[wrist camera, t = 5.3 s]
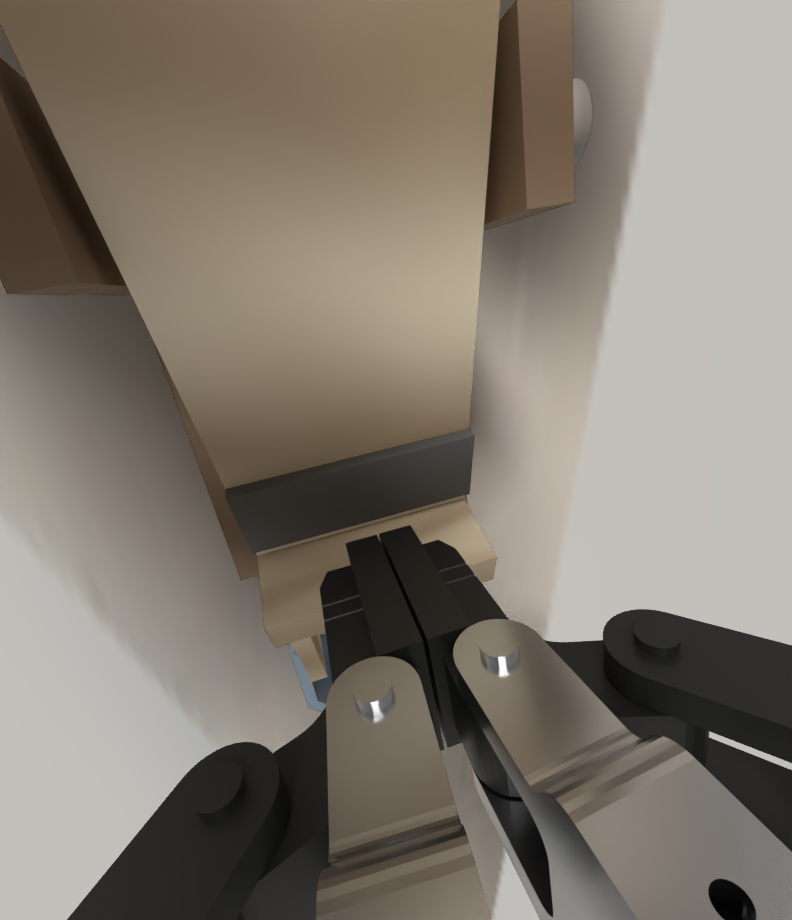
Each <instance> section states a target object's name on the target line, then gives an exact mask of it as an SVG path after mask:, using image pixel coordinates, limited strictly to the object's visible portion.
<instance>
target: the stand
mask: <svg viewBox="0 0 792 920" xmlns="http://www.w3.org/2000/svg"><path fill="white" fill-rule="evenodd" d="M591 125H592V100H591V95H590V92H589V89H588V87H587V85H586V84H585V82H584V81H583V80H581V79H579V78H573V15H572V0H516V2H515V3H514V4H513V5H512V6H511V8H510V9H509V10H508V11H507V13H506V14H505V15H504V16H503V17H502V19H501V20H500V21H499V27H498V40H497V54H496V67H495V81H494V95H493V108H492V122H491V135H490V149H489V163H488V176H487V190H486V203H485V217H484V231H485V230H488V229H491V228H494V227H497V226H500V225H503V224H506V223H510V222H513V221H516V220H519V219H522V218H525V217H528V216H532V215H535V214H538V213H541V212H544V211H547V210H550V209H554V208H557V207H560V206H563V205H566V204H569V203H572V202H575V184H574V165H575V164H576V163H577V162H578V160H579V159H580V157H581V156H582V154H583V152H584V150H585V148H586V145H587V142H588V139H589V135H590V131H591ZM0 279H1V281H2V284H3V286H4V288H5V290H6V292H7V294H34V295H114V296H132V295H131V293H130V291H129V289H128V287H127V285H126V283H125V281H124V279H123V277H122V275H121V273H120V271H119V268H118V266H117V264H116V262H115V260H114V258H113V256H112V254H111V252H110V250H109V248H108V246H107V244H106V242H105V240H104V237H103V235H102V233H101V231H100V229H99V227H98V225H97V223H96V221H95V219H94V217H93V215H92V213H91V211H90V209H89V206H88V204H87V202H86V200H85V198H84V196H83V194H82V192H81V190H80V188H79V186H78V184H77V182H76V180H75V178H74V175H73V173H72V171H71V169H70V167H69V165H68V163H67V161H66V159H65V157H64V155H63V153H62V151H61V149H60V146H59V144H58V142H57V140H56V138H55V136H54V134H53V132H52V130H51V128H50V126H49V124H48V122H47V120H46V118H45V115H44V113H43V111H42V109H41V107H40V105H39V103H38V101H37V99H36V97H35V95H34V93H33V91H32V89H31V87H30V84H29V83H28V82H27V81H26V80H25V79H24V78H23V77H22V76H20V75H19V74H18V73H17V72H16V71H15V70H14V69H12V68H11V67H10V66H9V65H8V64H7V63H6V62H4V61H3V60H2V59H1V58H0ZM153 342H154V341H153ZM154 345H155V343H154ZM155 347H156V345H155ZM156 350H157V353H158V355H159V358H160V361H161V364H162V366H163V369H164V372H165V375H166V377H167V380H168V383H169V385H170V388H171V391H172V394H173V396H174V399H175V402H176V405H177V407H178V410H179V413H180V416H181V418H182V421H183V424H184V426H185V429H186V432H187V435H188V437H189V440H190V443H191V446H192V448H193V451H194V454H195V456H196V459H197V462H198V465H199V467H200V470H201V473H202V476H203V478H204V481H205V484H206V486H207V489H208V492H209V495H210V497H211V500H212V503H213V506H214V508H215V511H216V514H217V517H218V519H219V522H220V525H221V527H222V530H223V533H224V536H225V538H226V541H227V544H228V547H229V549H230V552H231V555H232V557H233V560H234V563H235V566H236V568H237V571H238V574H239V577H240V579H241V580H244V579H247V578H251V577H254V576H257V575H259V567H258V556H257V554H256V553H254V554H252V552H251V550H250V548H249V546H248V544H247V541H246V539H245V537H244V535H243V533H242V531H241V529H240V527H239V525H238V523H237V521H236V519H235V517H234V515H233V513H232V511H231V509H230V507H229V505H228V503H227V501H226V497H225V488H224V486H223V483H222V481H221V479H220V477H219V475H218V473H217V471H216V469H215V467H214V465H213V463H212V461H211V459H210V457H209V455H208V452H207V450H206V448H205V446H204V444H203V442H202V440H201V438H200V436H199V434H198V432H197V430H196V428H195V426H194V424H193V421H192V419H191V417H190V415H189V413H188V411H187V409H186V407H185V405H184V403H183V401H182V399H181V397H180V395H179V393H178V390H177V388H176V386H175V384H174V382H173V380H172V378H171V376H170V374H169V372H168V370H167V368H166V366H165V364H164V362H163V359H162V357H161V355H160V353H159V351H158V349H157V347H156ZM464 499H465V501H466V503H467V497H466V495H464Z"/></svg>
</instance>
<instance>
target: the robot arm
mask: <svg viewBox="0 0 792 920" xmlns="http://www.w3.org/2000/svg"><path fill="white" fill-rule="evenodd" d="M379 540H380V541H379ZM345 544H346V549H347V553H348V557H349V561H350V565H349V566H346V567H342V568H339V569H335V570H332V571H328V572H327V573H326V575H325V578H324V580H323V582H322V584H321V586H320V596H321V603H322V610H323V617H324V622H325V623H324V625H325V632H326V639H327V646H328V654H329V661H330V668H331V676H332V687H331V689H330V691H329V693H328V697H327V702H326V707H325V709H324V710H323V712H322V713H321V715H320V716H319V717H318V718H317V720H316V721H315V722H314V723H313V724H312V725H311V726H310V727H309V728H308V729H307V730H306V731H304V732H303V733H302V734H300V735H299V736H298V737H296V738H295V739H293V740H292V741H290V742H289V743H287V744H286V745H284V746H283V747H281V748H280V749H278V750H277V751H276V752H274V753H273V754H272V752H271V751H270V750H268V749H267V748H266V747H264V746H262V745H260V744H257V743H253V742H242V743H235V744H232V745H228V746H225V747H223V748H221V749H219V750H216V751H215V752H213V753H211V754H210V755H208V756H207V757H205V758H204V759H203V760H201V761H200V762H199V763H197V764H196V765H195V766H194V767H193V768H192V769H191V770H190V771H189V772H188V773H187V774H186V775H185V776H184V777H183V779H182V780H181V781H180V782H179V783H178V785H177V786H176V787H175V788H174V790H173V791H172V792H171V793H170V794H169V796H168V797H167V798H166V800H165V801H164V802H163V803H162V804H161V806H160V807H159V808H158V809H157V811H156V812H155V813H154V814H153V816H152V817H151V818H150V819H149V820H148V821H147V823H146V824H145V825H144V826H143V828H142V829H141V830H140V831H139V832H138V834H137V835H136V836H135V837H134V838H133V840H132V841H131V842H130V843H129V845H128V846H127V847H126V848H125V850H124V851H123V852H122V853H121V854H120V856H119V857H118V858H117V859H116V861H115V862H114V863H113V864H112V865H111V867H110V868H109V869H108V870H107V872H106V873H105V874H104V875H103V876H102V878H101V879H100V880H99V881H98V883H97V884H96V885H95V887H93V889H92V890H91V891H90V892H89V894H88V895H87V896H86V897H85V898H84V900H83V901H82V902H81V903H80V905H79V906H78V907H77V908H76V910H75V911H74V912H73V913H72V914H71V916H70V917H69V918H68V919H67V920H491V917H490V914H489V910H488V907H487V903H486V900H485V896H484V893H483V889H482V886H481V882H480V879H479V875H478V872H477V868H476V865H475V861H474V858H473V854H472V851H471V848H470V844H469V841H468V838H467V835H466V832H465V829H464V826H463V824H461V822H460V819H459V816H458V813H457V809H456V806H455V802H454V799H453V795H452V791H451V788H450V784H449V781H448V777H447V773H446V770H445V766H444V763H443V759H442V755H441V752H440V751H441V750H443V749H444V746H443V741H442V736H441V731H442V733H443V736H444V739H445V741H446V744H447V746H448V747H451V746H454V745H456V744H459V743H463V745H464V748H465V750H466V752H467V755H468V757H469V759H470V762H471V766H472V772H473V778H474V783H475V787H476V790H477V792H478V795H479V797H480V799H481V801H482V803H483V805H484V807H485V809H486V811H487V813H488V815H489V817H490V819H491V821H492V823H493V825H494V827H495V829H496V831H497V833H498V835H499V837H500V839H501V841H502V843H503V845H504V847H505V849H506V851H507V853H508V855H509V857H510V859H511V862H512V864H513V866H514V868H515V870H516V872H517V874H518V876H519V878H520V880H521V882H522V884H523V886H524V888H525V890H526V892H527V894H528V896H529V898H530V900H531V902H532V904H533V906H534V908H535V910H536V912H537V914H538V916H539V918H540V920H792V770H790V769H787V768H784V767H782V766H779V765H777V764H775V763H772V762H769V761H767V760H764V759H762V758H759V757H757V756H754V755H752V754H749V753H746V752H744V751H742V750H739V749H736V748H734V747H731V746H729V745H726V744H724V743H721V742H719V741H716V740H714V739H711V738H709V731H711V732H713V733H715V734H718V735H721V736H723V737H726V738H728V739H731V740H734V741H736V742H739V743H741V744H744V745H747V746H749V747H752V748H754V749H757V750H759V751H762V752H765V753H767V754H770V755H772V756H775V757H778V758H780V759H783V760H785V761H788V762H791V763H792V646H791V645H787V644H783V643H780V642H776V641H772V640H769V639H764V638H761V637H757V636H753V635H749V634H746V633H742V632H738V631H734V630H730V629H726V628H723V627H719V626H715V625H711V624H707V623H703V622H700V621H696V620H692V619H688V618H685V617H681V616H677V615H673V614H669V613H666V612H661V611H656V610H642V609H640V610H630V611H626V612H622V613H620V614H617V615H616V616H614V617H612V618H611V619H610V620H609V621H608V622H607V624H606V625H605V627H604V631H603V640H601V641H583V642H568V643H567V642H550V641H545V640H543V639H542V637H541V636H540V635H539V634H538V633H536V632H535V631H534V630H533V629H531V628H530V627H528V626H526V625H524V624H522V623H519V622H516V621H513V620H509V619H508V618H507V617H506V615H505V614H504V613H503V611H502V610H501V609H500V607H499V606H498V605H497V603H496V602H495V601H494V599H493V598H492V597H491V595H490V594H489V593H488V591H487V590H486V588H485V587H484V586H483V584H482V583H481V582H480V580H479V579H478V578H477V576H475V575H474V572H473V571H472V570H471V568H470V567H469V566H468V564H467V565H466V562H465V560H464V559H463V558H462V556H461V555H460V554H459V552H458V551H457V550H456V548H454V547H452V546H450V545H448V544H446V543H444V542H442V541H440V540H435V541H432V542H428V543H425V544H422V543H421V541H420V540H419V538H418V536H417V535H416V533H415V532H414V530H413V528H412V527H411V526H410V525H408V526H404V527H401V528H397V529H394V530H390V531H387V532H383V533H379V538H378V536H377V535H373V536H369V537H365V538H362V539H358V540H355V541H351V542H348V543H345ZM440 728H441V731H440Z"/></svg>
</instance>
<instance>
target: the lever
mask: <svg viewBox="0 0 792 920" xmlns="http://www.w3.org/2000/svg"><path fill="white" fill-rule="evenodd" d="M499 13H500V0H0V25H1V27H2V29H3V31H4V33H5V35H6V37H7V39H8V41H9V43H10V45H11V47H12V49H13V51H14V53H15V56H16V58H17V60H18V62H19V64H20V66H21V68H22V70H23V72H24V74H25V76H26V78H27V80H28V82H29V84H30V87H31V89H32V91H33V93H34V95H35V97H36V99H37V101H38V103H39V105H40V107H41V109H42V111H43V113H44V115H45V118H46V120H47V122H48V124H49V126H50V128H51V130H52V132H53V134H54V136H55V138H56V140H57V142H58V144H59V146H60V149H61V151H62V153H63V155H64V157H65V159H66V161H67V163H68V165H69V167H70V169H71V171H72V173H73V175H74V178H75V180H76V182H77V184H78V186H79V188H80V190H81V192H82V194H83V196H84V198H85V200H86V202H87V204H88V206H89V209H90V211H91V213H92V215H93V217H94V219H95V221H96V223H97V225H98V227H99V229H100V231H101V233H102V235H103V237H104V240H105V242H106V244H107V246H108V248H109V250H110V252H111V254H112V256H113V258H114V260H115V262H116V264H117V266H118V268H119V271H120V273H121V275H122V277H123V279H124V281H125V283H126V285H127V287H128V289H129V291H130V293H131V295H132V297H133V299H134V302H135V304H136V306H137V308H138V310H139V312H140V314H141V316H142V318H143V320H144V322H145V324H146V326H147V328H148V330H149V333H150V335H151V337H152V339H153V341H154V343H155V345H156V347H157V349H158V351H159V353H160V355H161V357H162V359H163V362H164V364H165V366H166V368H167V370H168V372H169V374H170V376H171V378H172V380H173V382H174V384H175V386H176V388H177V390H178V393H179V395H180V397H181V399H182V401H183V403H184V405H185V407H186V409H187V411H188V413H189V415H190V417H191V419H192V421H193V424H194V426H195V428H196V430H197V432H198V434H199V436H200V438H201V440H202V442H203V444H204V446H205V448H206V450H207V452H208V455H209V457H210V459H211V461H212V463H213V465H214V467H215V469H216V471H217V473H218V475H219V477H220V479H221V481H222V483H223V486H224V488H225V497H226V501H227V503H228V505H229V507H230V509H231V511H232V513H233V515H234V517H235V519H236V521H237V523H238V525H239V527H240V529H241V531H242V533H243V535H244V537H245V539H246V541H247V544H248V546H249V548H250V550H251V552H252V554H254V553H256V554H257V556H258V567H259V578H260V588H261V599H262V609H263V620H264V629H265V631H266V632H267V634H268V636H269V638H270V639H271V641H272V643H273V644H274V646H275V648H276V647H279V646H283V645H286V644H289V643H292V644H293V646H294V648H295V650H296V652H297V654H298V656H299V658H300V660H301V662H302V664H303V666H304V668H305V670H306V672H307V674H308V676H309V678H310V680H311V682H314V681H317V680H320V679H323V678H326V677H328V676H327V671H326V665H325V660H324V654H323V649H322V644H321V638H320V635H321V634H324V633H326V632H325V625H324V623H325V622H324V617H323V610H322V603H321V596H320V586H321V584H322V582H323V580H324V578H325V575H326V573H327V572H328V571H332V570H335V569H339V568H342V567H346V566H349V565H350V561H349V557H348V553H347V549H346V544H345V543H348V542H351V541H355V540H358V539H362V538H365V537H369V536H373V535H377V536H378V538H379V533H383V532H387V531H390V530H394V529H397V528H401V527H404V526H408V525H410V526H411V527H412V528H413V530H414V532H415V533H416V535H417V536H418V538H419V540H420V541H421V543H422V544H425V543H428V542H432V541H435V540H440V541H442V542H444V543H446V544H448V545H450V546H452V547H454V548H456V550H457V551H458V552H459V554H460V555H461V556H462V558H463V559H464V560H465V562H466V565H467V564H468V566H469V567H470V568H471V570H472V571H473V572H474V575H475V576H477V578H478V579H479V580H480V582H481V583H482V582H485V581H488V580H491V579H493V576H494V570H495V565H496V559H497V556H496V555H495V553H494V551H493V549H492V548H491V546H490V544H489V542H488V540H487V539H486V537H485V535H484V533H483V531H482V530H481V528H480V526H479V524H478V523H477V521H476V519H475V517H474V515H473V514H472V512H471V510H470V508H469V506H468V505H467V503H466V501H465V499H464V495H467V494H469V492H470V481H471V469H472V457H473V446H474V435H473V433H472V432H471V430H470V429H469V421H470V408H471V394H472V380H473V367H474V353H475V340H476V326H477V312H478V299H479V285H480V272H481V258H482V244H483V231H484V217H485V203H486V190H487V176H488V163H489V149H490V135H491V122H492V108H493V95H494V81H495V67H496V54H497V40H498V27H499ZM379 541H380V540H379Z"/></svg>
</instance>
